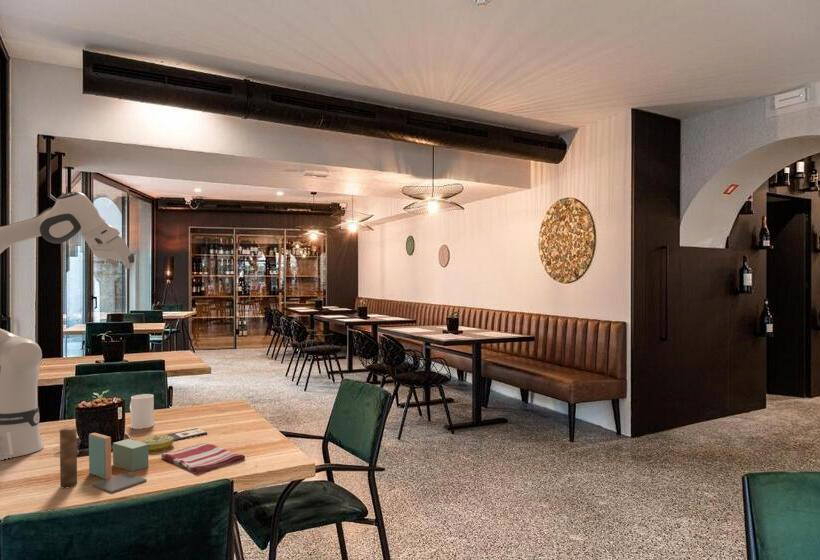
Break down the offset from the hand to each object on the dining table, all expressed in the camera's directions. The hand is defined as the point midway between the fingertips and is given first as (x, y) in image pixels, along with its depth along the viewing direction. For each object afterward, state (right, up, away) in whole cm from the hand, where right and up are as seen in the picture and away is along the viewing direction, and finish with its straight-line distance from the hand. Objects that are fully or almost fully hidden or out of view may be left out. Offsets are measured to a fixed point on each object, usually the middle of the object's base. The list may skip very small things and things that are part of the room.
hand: (122, 267), depth 190 cm
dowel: (+5, -63, -38) cm, 74 cm away
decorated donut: (+15, -63, -5) cm, 65 cm away
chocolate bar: (+17, -63, +7) cm, 66 cm away
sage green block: (+15, -63, -23) cm, 69 cm away
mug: (-5, -63, +23) cm, 67 cm away
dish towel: (+35, -64, -17) cm, 75 cm away
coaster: (+19, -63, -37) cm, 76 cm away
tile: (+10, -63, -31) cm, 71 cm away
